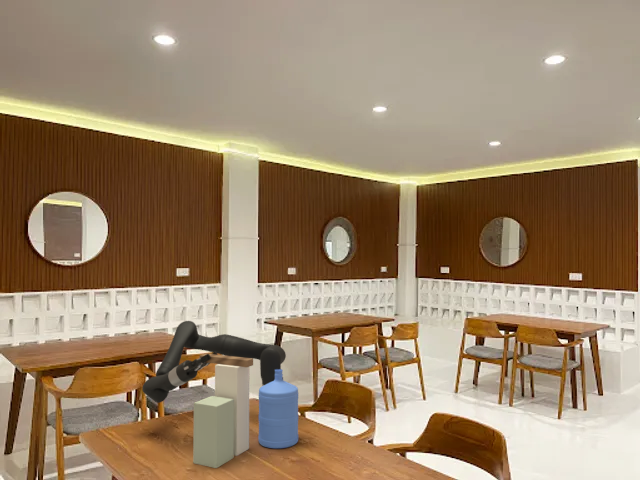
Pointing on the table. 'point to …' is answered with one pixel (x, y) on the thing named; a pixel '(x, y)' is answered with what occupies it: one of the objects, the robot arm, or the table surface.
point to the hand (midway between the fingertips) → (213, 355)
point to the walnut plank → (229, 360)
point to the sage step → (213, 431)
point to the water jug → (278, 413)
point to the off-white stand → (235, 400)
